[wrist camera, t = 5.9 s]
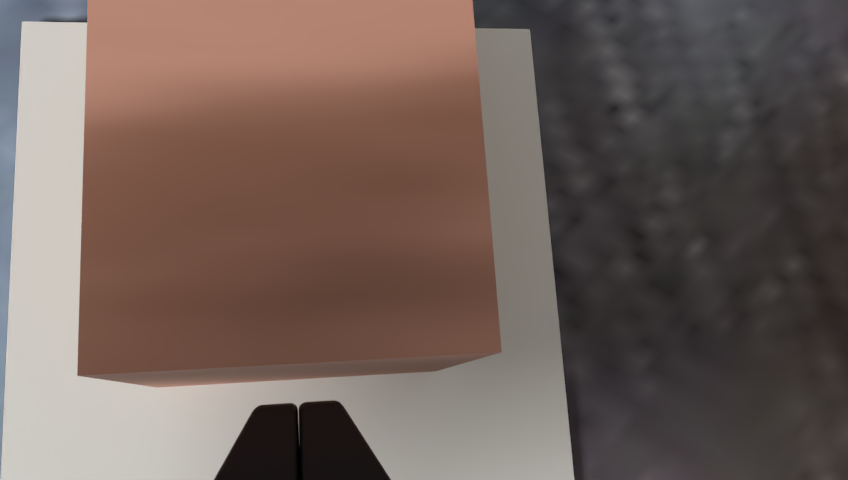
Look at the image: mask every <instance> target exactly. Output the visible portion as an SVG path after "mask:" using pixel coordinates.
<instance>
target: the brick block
mask: <svg viewBox="0 0 848 480" xmlns="http://www.w3.org/2000/svg"><path fill="white" fill-rule="evenodd" d="M501 352H502V349H501V337H500V325H499V313H498V301H497V289H496V277H495V265H494V253H493V241H492V229H491V217H490V205H489V193H488V181H487V168H486V156H485V144H484V132H483V120H482V108H481V96H480V84H479V72H478V60H477V48H476V36H475V24H474V12H473V0H88V9H87V45H86V81H85V116H84V152H83V188H82V223H81V259H80V295H79V331H78V366H77V376H83V377H89V378H96V379H103V380H109V381H116V382H123V383H129V384H136V385H143V386H149V387H156V388H159V387H176V386H193V385H210V384H227V383H244V382H261V381H279V380H296V379H313V378H330V377H347V376H364V375H381V374H399V373H416V372H433V371H438V370H442V369H445V368H449V367H452V366H456V365H459V364H463V363H466V362H470V361H473V360H477V359H480V358H484V357H487V356H491V355H494V354H498V353H501Z"/></svg>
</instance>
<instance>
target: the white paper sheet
mask: <svg viewBox="0 0 848 480" xmlns="http://www.w3.org/2000/svg"><path fill="white" fill-rule="evenodd" d="M475 36H476V48H477V60H478V72H479V84H480V96H481V108H482V120H483V132H484V144H485V156H486V168H487V181H488V193H489V205H490V217H491V229H492V241H493V253H494V265H495V277H496V289H497V301H498V313H499V325H500V337H501V349H502V352H501V353H498V354H494V355H491V356H487V357H484V358H480V359H477V360H473V361H470V362H466V363H463V364H459V365H456V366H452V367H449V368H445V369H442V370H438V371H433V372H416V373H399V374H381V375H364V376H347V377H330V378H313V379H296V380H279V381H261V382H244V383H227V384H210V385H193V386H176V387H159V388H156V387H149V386H143V385H136V384H129V383H123V382H116V381H109V380H103V379H96V378H89V377H83V376H77V366H78V331H79V295H80V259H81V223H82V188H83V152H84V116H85V81H86V45H87V23H81V22H22V34H21V55H20V77H19V98H18V119H17V141H16V162H15V184H14V205H13V227H12V248H11V269H10V291H9V312H8V334H7V355H6V377H5V398H4V419H3V441H2V462H1V480H214V478H215V477H216V475H217V473H218V471H219V469H220V468H221V466H222V464H223V462H224V461H225V459H226V457H227V455H228V454H229V452H230V450H231V448H232V446H233V445H234V443H235V441H236V439H237V438H238V436H239V434H240V432H241V431H242V429H243V427H244V425H245V423H246V422H247V420H248V418H249V416H250V415H251V413H252V411H253V410H254V409H255V408H256V407H258V406H259V405H268V404H283V403H293V404H295V405H296V406H297V408H298V423H299V407H300V405H301V404H302V403H304V402H315V401H331V400H336V401H338V402H340V403H341V404H342V405H343V406H344V408H345V409H346V411H347V412H348V414H349V415H350V417H351V418H352V420H353V422H354V423H355V425H356V426H357V428H358V429H359V431H360V432H361V434H362V436H363V437H364V439H365V440H366V442H367V443H368V445H369V446H370V448H371V449H372V451H373V453H374V454H375V456H376V457H377V459H378V460H379V462H380V463H381V465H382V466H383V468H384V470H385V471H386V473H387V474H388V476H389V477H390V479H391V480H574V470H573V460H572V450H571V440H570V430H569V420H568V409H567V399H566V389H565V379H564V369H563V359H562V349H561V339H560V329H559V318H558V308H557V298H556V288H555V278H554V268H553V258H552V248H551V238H550V227H549V217H548V207H547V197H546V187H545V177H544V167H543V157H542V146H541V136H540V126H539V116H538V106H537V96H536V86H535V76H534V66H533V55H532V45H531V35H530V29H493V28H475Z"/></svg>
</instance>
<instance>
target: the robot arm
mask: <svg viewBox="0 0 848 480" xmlns="http://www.w3.org/2000/svg"><path fill="white" fill-rule="evenodd" d="M214 480H391V479H390V477H389V476H388V474H387V473H386V471H385V470H384V468H383V466H382V465H381V463H380V462H379V460H378V459H377V457H376V456H375V454H374V453H373V451H372V449H371V448H370V446H369V445H368V443H367V442H366V440H365V439H364V437H363V436H362V434H361V432H360V431H359V429H358V428H357V426H356V425H355V423H354V422H353V420H352V418H351V417H350V415H349V414H348V412H347V411H346V409H345V408H344V406H343V405H342V404H341V403H340V402H338V401H336V400H331V401H315V402H304V403H302V404H301V405H300V407H299V423H298V408H297V406H296V405H295V404H293V403H283V404H268V405H259V406H258V407H256V408H255V409H254V410H253V411H252V413H251V415H250V416H249V418H248V420H247V422H246V423H245V425H244V427H243V429H242V431H241V432H240V434H239V436H238V438H237V439H236V441H235V443H234V445H233V446H232V448H231V450H230V452H229V454H228V455H227V457H226V459H225V461H224V462H223V464H222V466H221V468H220V469H219V471H218V473H217V475H216V477H215V478H214Z"/></svg>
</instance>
